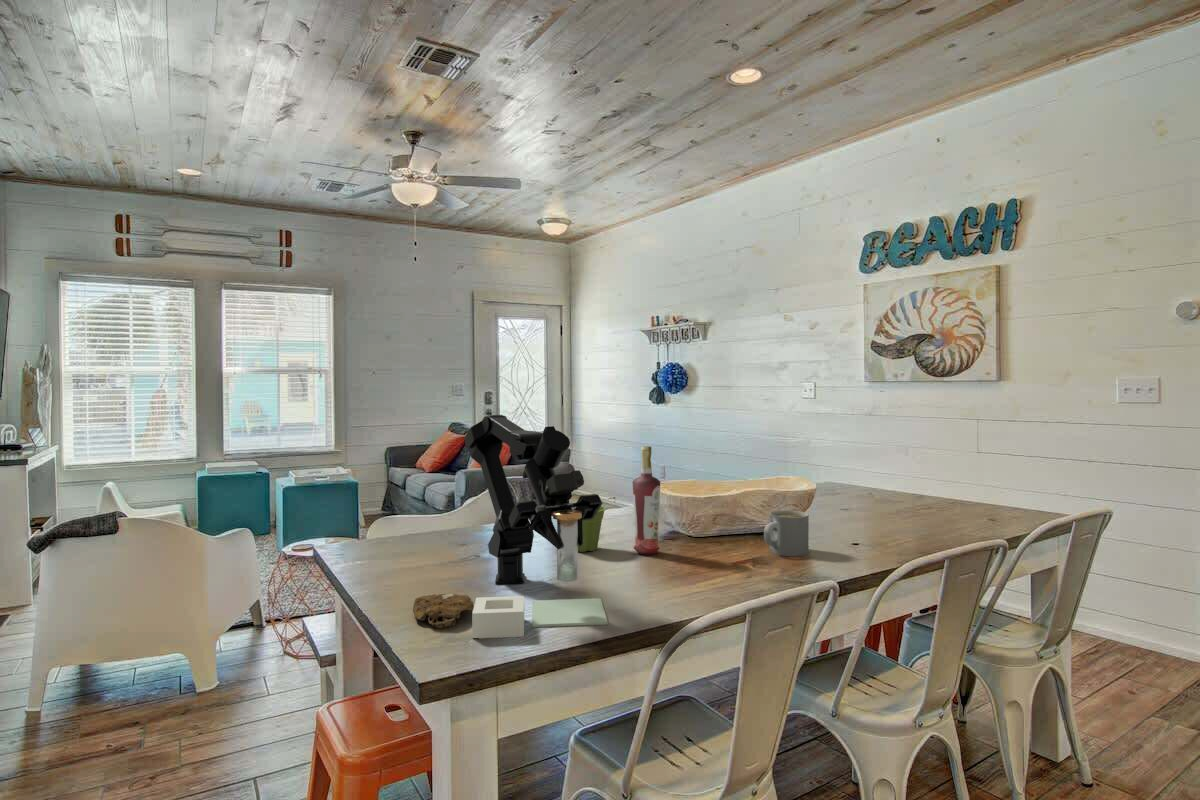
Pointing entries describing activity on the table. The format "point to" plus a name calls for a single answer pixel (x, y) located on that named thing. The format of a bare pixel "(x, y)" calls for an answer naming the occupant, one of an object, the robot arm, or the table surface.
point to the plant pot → (591, 531)
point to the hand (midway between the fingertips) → (570, 546)
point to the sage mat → (568, 612)
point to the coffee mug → (787, 533)
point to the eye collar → (498, 617)
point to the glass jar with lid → (567, 544)
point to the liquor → (646, 507)
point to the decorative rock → (441, 608)
